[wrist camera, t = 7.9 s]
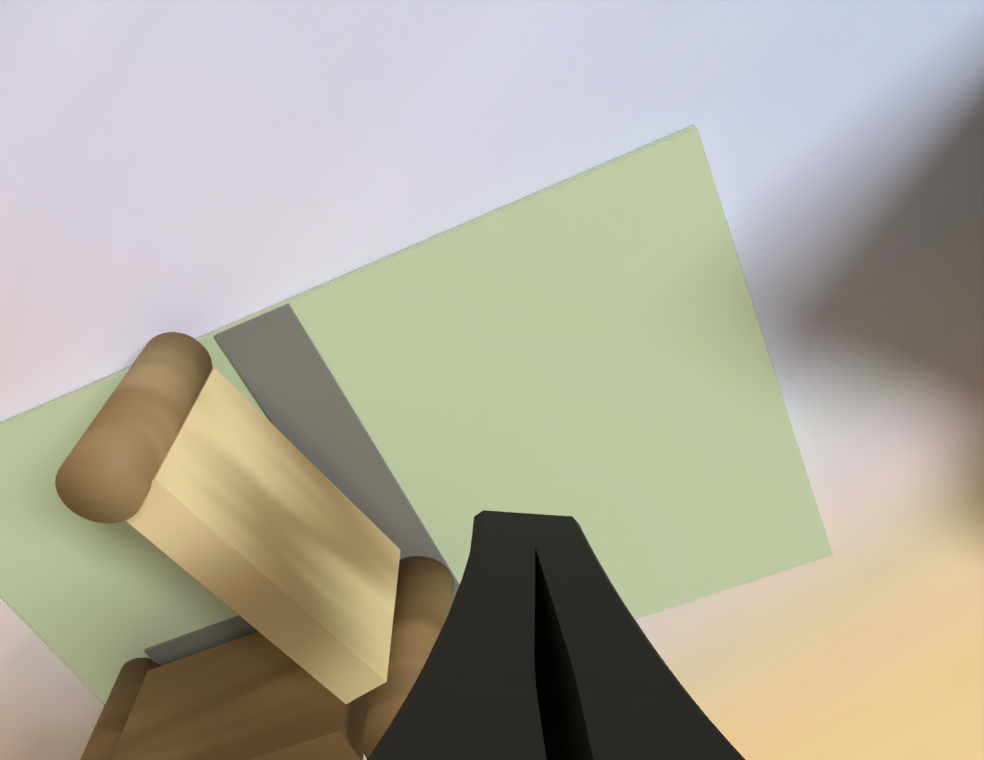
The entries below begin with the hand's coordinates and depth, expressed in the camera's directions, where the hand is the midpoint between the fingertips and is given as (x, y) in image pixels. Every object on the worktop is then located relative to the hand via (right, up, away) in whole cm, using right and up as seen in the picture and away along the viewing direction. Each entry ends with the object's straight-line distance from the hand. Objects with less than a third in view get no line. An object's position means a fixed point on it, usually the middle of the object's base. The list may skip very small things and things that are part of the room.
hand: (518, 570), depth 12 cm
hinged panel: (-6, +1, +10) cm, 12 cm away
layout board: (-3, -1, +12) cm, 12 cm away
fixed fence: (-7, -5, +14) cm, 16 cm away
